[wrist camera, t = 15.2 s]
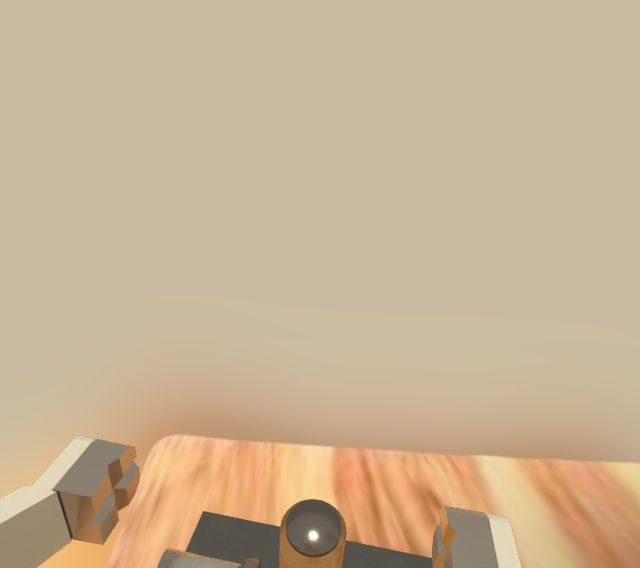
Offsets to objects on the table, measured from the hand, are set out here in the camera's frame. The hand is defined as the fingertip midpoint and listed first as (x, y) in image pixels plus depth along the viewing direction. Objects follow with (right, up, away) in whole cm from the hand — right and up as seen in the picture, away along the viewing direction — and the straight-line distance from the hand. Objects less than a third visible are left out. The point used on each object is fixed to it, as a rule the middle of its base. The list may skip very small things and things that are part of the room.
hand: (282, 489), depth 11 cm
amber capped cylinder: (0, -23, +25) cm, 34 cm away
